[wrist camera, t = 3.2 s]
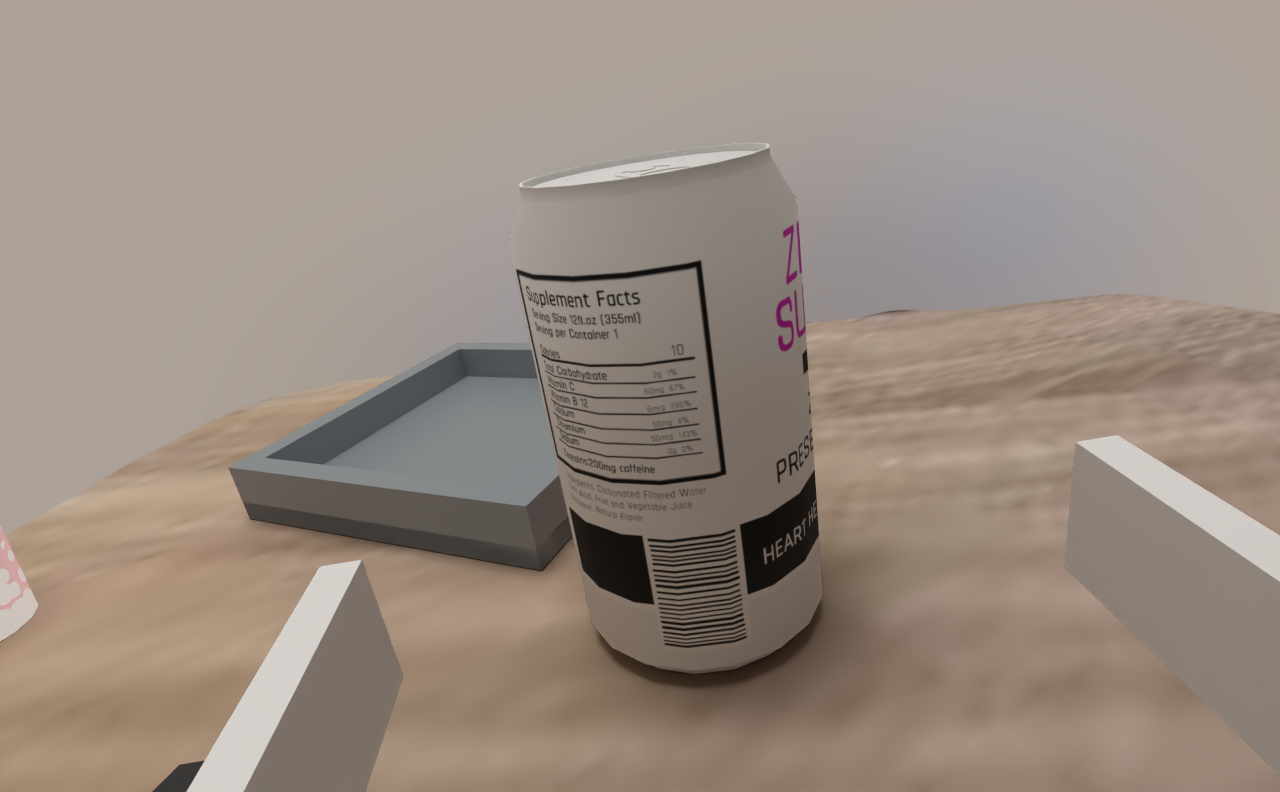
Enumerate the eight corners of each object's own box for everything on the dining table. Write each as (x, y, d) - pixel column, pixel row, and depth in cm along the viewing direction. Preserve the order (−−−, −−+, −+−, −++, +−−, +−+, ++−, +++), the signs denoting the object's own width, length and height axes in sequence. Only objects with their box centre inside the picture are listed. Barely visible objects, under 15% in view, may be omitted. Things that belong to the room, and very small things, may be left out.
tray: (700, 391, 43) (694, 344, 42) (541, 570, 28) (525, 506, 27) (467, 382, 51) (456, 342, 50) (250, 518, 37) (228, 467, 35)
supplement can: (566, 577, 28) (475, 184, 22) (752, 512, 30) (713, 140, 24) (635, 727, 21) (527, 202, 15) (874, 628, 23) (859, 137, 17)
